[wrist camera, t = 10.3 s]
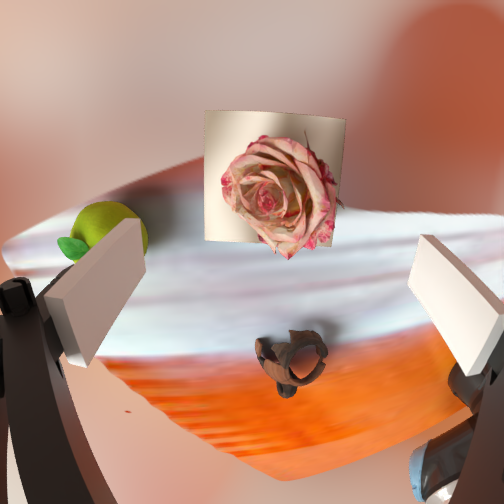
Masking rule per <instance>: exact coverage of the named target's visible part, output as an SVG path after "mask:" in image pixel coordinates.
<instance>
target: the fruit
mask: <svg viewBox="0 0 504 504" xmlns="http://www.w3.org/2000/svg"><path fill="white" fill-rule="evenodd" d="M125 218H139V217H138V216H137V215H136V214H135V213H134V212H133V211H131V210H130V209H129V208H128V207H127V206H125V205H124V204H121V203H119V202H113V201H104V202H96V203H93V204H90V205H88V206H87V207H85V208H84V209H83V210H82V211H81V212H80V213H79V215H78V216H77V218H76V221H75V223H74V225H73V228H72V230H71V233H70V238H69V237H61V238H59V239H58V240H57V242H58V245H59V247H60V249H61V250H62V252H63V253H64V255H65V256H66V257H67V258H69V259H70V260H73V261H74V262H75V264H76V263H77V262H78V261H79V260H80V259H81V258H82V257H83V256H84V255H85V254H86V253H87V252H88V251H89V250H90V249H91V248H92V247H94V246H95V245H96V244H97V243H98V242H99V241H100V240H101V239H102V238H103V237H104V236H106V235H107V234H108V233H109V232H110V231H111V230H112V229H113V228H114V227H116V226H117V225H118V224H119V223H120V222H121V221H122V220H124V219H125ZM140 223H141V234H142V243H143V252H144V256H145V254H146V251H147V246H148V233H147V231H146V228H145V226H144V224H143V222H142V220H141V219H140Z"/></svg>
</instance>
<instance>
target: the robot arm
mask: <svg viewBox="0 0 504 504" xmlns="http://www.w3.org/2000/svg"><path fill="white" fill-rule="evenodd" d="M145 273H146V268H145V260H144V252H143V243H142V234H141V223H140V218H125V219H124V220H122V221H121V222H120V223H119V224H118V225H117V226H116V227H114V228H113V229H112V230H111V231H110V232H109V233H108V234H107V235H106V236H104V237H103V238H102V239H101V240H100V241H99V242H98V243H97V244H96V245H95V246H94V247H92V248H91V249H90V250H89V251H88V252H87V253H86V254H85V255H84V256H83V257H82V258H81V259H80V260H79V261H78V262H77V263H76V264H73V265H71V266H69V267H68V268H66V269H64V270H62V271H61V272H60V273H59V274H58V275H57V276H56V279H55V278H54V279H53V280H52V281H51V282H50V284H48V285H47V286H46V287H45V288H44V289H43V290H42V291H41V292H40V293H39V294H38V295H37V297H36V298H35V296H34V293H33V290H32V287H31V283H30V281H29V279H27V278H25V277H17V278H13V279H10V280H7V281H6V282H4V283H2V284H1V285H0V309H1V311H2V314H3V315H0V504H8V497H7V442H8V427H10V433H11V438H12V444H13V449H14V454H15V459H16V463H17V467H18V471H19V475H20V479H21V482H22V486H23V489H24V493H25V496H26V499H27V502H28V504H118V503H117V502H116V500H115V498H114V496H113V494H112V492H111V490H110V488H109V487H108V485H107V483H106V481H105V479H104V477H103V475H102V472H101V470H100V468H99V466H98V464H97V462H96V460H95V457H94V455H93V453H92V450H91V448H90V446H89V443H88V441H87V438H86V436H85V433H84V431H83V428H82V426H81V424H80V420H79V418H78V415H77V412H76V409H75V406H74V403H73V400H72V397H71V395H70V391H69V388H68V385H67V382H66V378H65V375H64V371H63V367H62V364H61V362H60V360H59V357H60V356H61V354H62V353H63V351H64V353H65V355H66V357H67V360H68V362H69V364H74V365H77V366H82V367H86V368H87V367H88V365H89V364H90V362H91V360H92V359H93V357H94V355H95V353H96V352H97V350H98V348H99V346H100V345H101V343H102V341H103V340H104V338H105V336H106V335H107V333H108V331H109V330H110V328H111V326H112V325H113V323H114V321H115V320H116V318H117V316H118V315H119V313H120V312H121V310H122V308H123V307H124V305H125V304H126V302H127V300H128V299H129V297H130V296H131V294H132V293H133V291H134V289H135V288H136V286H137V285H138V283H139V282H140V280H141V279H142V277H143V276H144V274H145ZM407 285H408V286H409V288H410V289H411V290H412V292H413V293H414V295H415V296H416V298H417V299H418V300H419V302H420V303H421V305H422V306H423V308H424V309H425V311H426V312H427V314H428V315H429V317H430V318H431V320H432V321H433V323H434V324H435V326H436V328H437V329H438V331H439V332H440V334H441V335H442V337H443V339H444V340H445V342H446V343H447V345H448V347H449V348H450V350H451V352H452V353H453V355H454V357H455V358H456V360H457V363H456V364H455V366H454V367H453V369H452V370H451V372H450V375H449V378H448V385H449V387H450V389H451V391H452V392H453V394H454V395H455V396H457V397H458V398H459V399H460V400H461V401H462V402H463V403H465V404H466V405H467V406H468V407H469V408H470V410H471V412H472V414H473V416H472V417H470V418H468V419H467V420H465V421H464V422H462V423H460V424H458V425H457V426H455V427H454V428H452V429H450V430H448V431H447V432H445V433H443V434H441V435H440V436H438V437H436V438H434V439H430V440H429V441H428V442H427V443H425V444H423V445H422V446H420V447H418V448H416V449H415V450H414V451H413V453H412V454H411V456H410V461H409V474H410V481H411V485H412V489H413V493H414V496H415V498H416V500H417V501H419V502H425V504H504V304H503V303H502V301H501V300H500V299H499V298H498V297H497V296H496V295H495V294H494V293H493V292H492V291H491V290H490V289H489V288H488V287H487V286H486V285H485V284H484V283H483V282H482V281H481V280H480V279H479V278H478V277H477V276H476V275H475V274H474V273H473V272H472V271H471V270H470V269H469V268H468V267H467V266H466V265H465V264H464V263H463V262H462V261H461V260H460V259H459V258H458V257H456V256H455V255H454V254H453V253H452V252H451V251H450V250H449V249H448V248H447V247H446V246H444V245H443V244H442V243H441V242H440V241H439V240H438V239H437V238H435V237H434V236H433V235H423V234H420V238H419V242H418V246H417V250H416V254H415V258H414V262H413V265H412V269H411V273H410V276H409V279H408V283H407Z"/></svg>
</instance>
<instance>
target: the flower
mask: <svg viewBox="0 0 504 504" xmlns="http://www.w3.org/2000/svg"><path fill="white" fill-rule="evenodd" d="M304 134H305V136H306V127H305V130H304ZM258 138H259V139H258V140H257V141H255V142H254V143H253V142H251V143H250V144H249V145H248V146H247V149H246V151H245V153H243V154H241V155H238V156H236V157H235V159H234V160H233V161H232V162H231V163H230V165H229V167H228V169H227V170H226V172H225V173H224V174H223V175H222V177H221V184H222V186H224V187H222V195H223V198H224V200H225V202H226V203H227V204H229V205H230V206H231V208H232V212H234V213H235V214H236V213H238V214H237V215H238V216H239V217H240V218H241V219H243V220H245V221H247V223H248V224H249V225H250V226H251V227H252V228H253V229H255V230H256V231H257V233H258V234H257V235H258V239H259V241H261V242H262V243H265V244H268V245H269V246H270V247H271V249H272V250H273V252H274V254H276V250H275V249H276V247H278V249H279V252H280V253H281V254H282V255H283V256H284V257H285V258H286V259H288V260H289V259H290V258H291V257H292V256H293V255H294V254H295V253H296V252H298V251H299V250H300V249H301V248H302V247H305V248H308V249H310V250H313V249H315V247H316V244H317V238H318V239H319V241H320V242H321V243H326V242H327V241H328V240H329V239H330V235H331V233H330V232H332V231H333V229H334V228H335V225H334V217H335V209H336V202H337V203H338V204H339V205H341V206H342V207H343V209H344V206H343V204H342V202H341V201H340V200H339V199H338V198H337V197H336V193H335V188H334V187H333V186H332V185H334V186H336V185H338V183H335V181H334V178H333V174H332V173H331V172H330V171H329V166H328V164H327V163H324V161H323V160H322V159H317V157H316V155H315V152H313V151H312V150H311V149H310V146H309V143H308V139H307V136H306V139H307V148H304V147H303V146H302V145H301V144H300V143H299V142H296V141H294V140H292V139H290V138H287V137H269V136H268V135H261V136H260V137H258ZM328 231H330V232H328Z"/></svg>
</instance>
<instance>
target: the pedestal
mask: <svg viewBox="0 0 504 504" xmlns="http://www.w3.org/2000/svg"><path fill="white" fill-rule="evenodd" d="M305 127H306V136H307V139H308V143H309V146H310V149H311V150H312V151H313V152H315V155H316V157H317V159H322V160H323V161H324V163H327V164H328V166H329V171H330V172H331V173H332V174H333V178H334V181H335V183H338V185H336V186H334V185H332V186H333V187H334V188H335V193H336V197H337V198H338V195H339V187H340V178H341V169H342V160H343V150H344V139H345V138H344V137H345V127H346V119H340V118H332V117H323V116H314V115H304V114H293V113H278V112H261V111H260V112H259V111H229V110H222V111H221V110H220V111H219V110H213V111H212V110H206V111H205V130H204V132H205V133H204V135H205V136H204V224H205V240H206V241H228V242H248V243H262V242H261V241H259V239H258V235H257V234H258V233H257V231H256V230H255V229H253V228H252V227H251V226H250V225H249V224H248V223H247V221H245V220H243V219H241V218H240V217H239V216H238V215H237V214H238V213H236V214H235V213H234V212H232V208H231V206H230V205H229V204H227V203H226V202H225V200H224V198H223V195H222V187H224V186H222V184H221V177H222V175H223V174H224V173H225V172H226V170H227V169H228V167H229V165H230V163H231V162H232V161H233V160H234V159H235V157H236V156H238V155H241V154H243V153H245V151H246V149H247V146H248V145H249V144H250V143H251V142H253V143H254V142H255V141H257V140H258V139H259V138H258V137H260V136H261V135H268V136H269V137H287V138H290V139H292V140H294V141H296V142H299V143H300V144H301V145H302V146H303V147H304V148H307V139H306V136H305V134H304V130H305ZM336 211H337V202H336V209H335V217H334V225H335V218H336ZM328 232H330V231H328ZM333 232H334V229H333V231H332V232H330V233H331V235H330V239H329V240H328V241H327V242H326V243H321V242H320V241H319V239H318V238H317V244H316V246H325V247H331V245H332V239H333Z"/></svg>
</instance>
